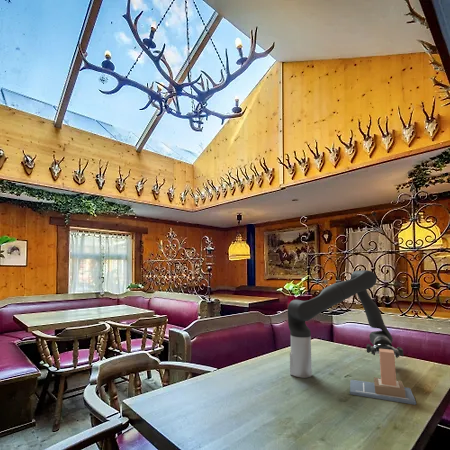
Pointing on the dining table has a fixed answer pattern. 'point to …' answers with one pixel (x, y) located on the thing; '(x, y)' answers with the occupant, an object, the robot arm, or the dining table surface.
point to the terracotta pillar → (387, 367)
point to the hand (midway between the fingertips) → (385, 354)
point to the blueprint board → (371, 390)
